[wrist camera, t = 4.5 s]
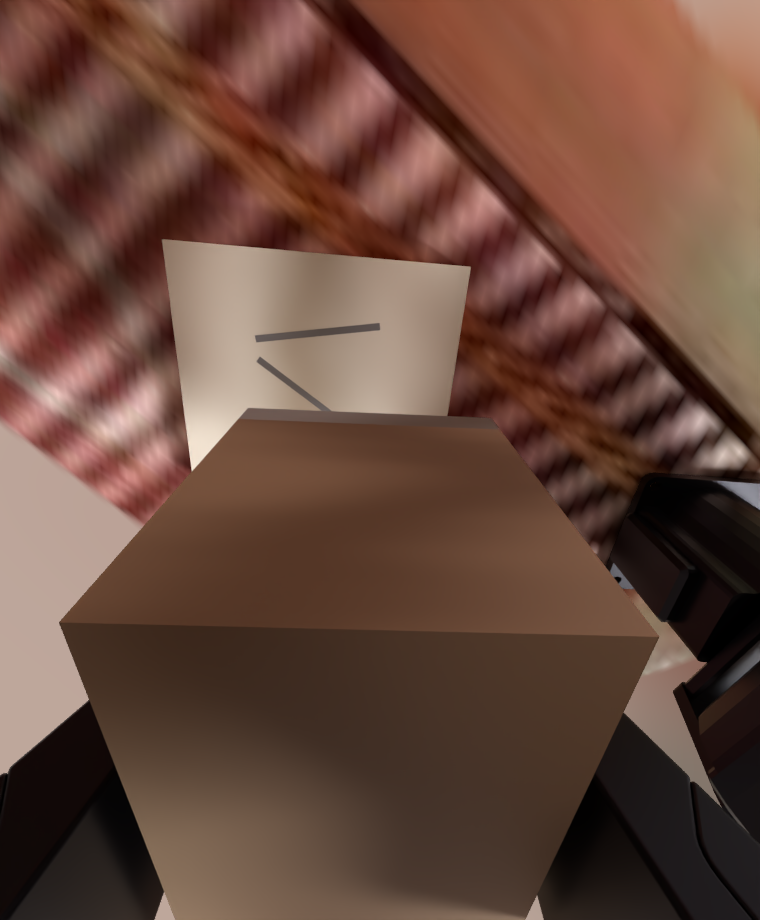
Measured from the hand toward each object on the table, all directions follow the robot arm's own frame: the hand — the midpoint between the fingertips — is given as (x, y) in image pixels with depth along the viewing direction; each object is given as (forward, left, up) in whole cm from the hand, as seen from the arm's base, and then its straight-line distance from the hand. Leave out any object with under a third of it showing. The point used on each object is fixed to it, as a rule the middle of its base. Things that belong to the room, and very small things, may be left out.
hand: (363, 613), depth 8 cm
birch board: (+2, -1, -11) cm, 11 cm away
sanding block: (0, 0, -2) cm, 2 cm away
